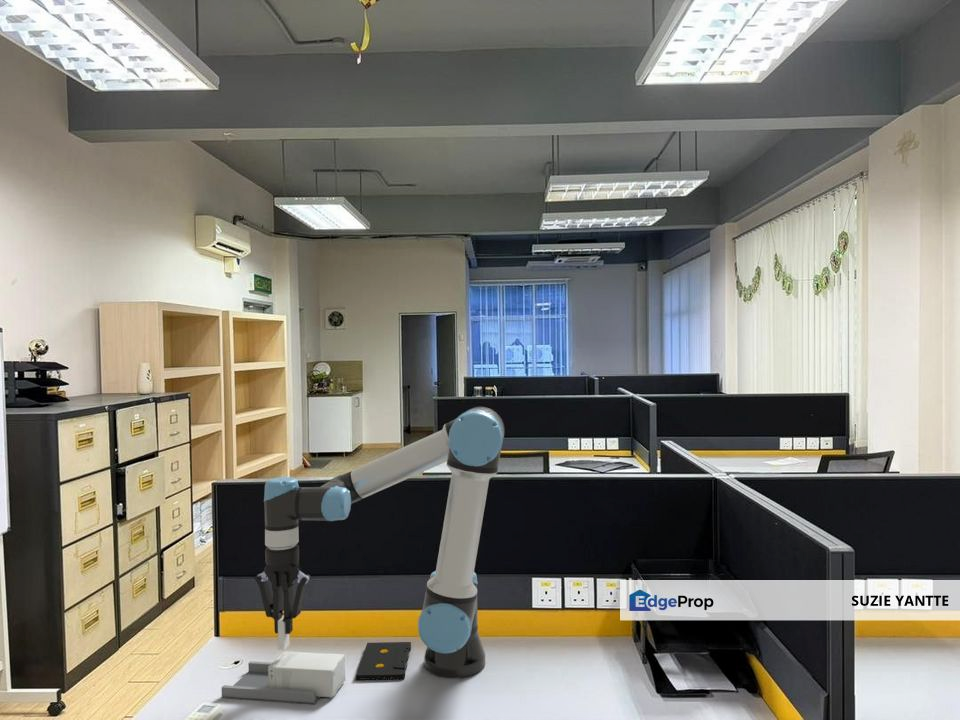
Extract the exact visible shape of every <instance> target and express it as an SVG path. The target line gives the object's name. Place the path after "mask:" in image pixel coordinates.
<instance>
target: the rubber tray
mask: <svg viewBox="0 0 960 720" xmlns="http://www.w3.org/2000/svg"><path fill="white" fill-rule="evenodd" d="M247 663H248V665H247V666H248V671H247V672H246V673H245V674H244V675H243V676H241V678H240V679H239V680H237V681H236V682H235V683H234V684H233V685H229V684H227V685H226V684H223V685H222V686H221V699H232V700H233V699H234V700H245V701H246V700H247V701H257V702H259V701H260V702H261V701H262V702H272V703H273V702H275V703H288V704H300V705H301V704H303V705H313V706H314V705H315V704H316V703H317V701H318V700H319V699H320V698H321V697H319V696H316V691H303V690H288V689H273V688H268V667H269V666H270V665H271V664H272V663H273V661H272V662H270V661H254V660H252V661H251V660H250V661H249V662H247Z"/></svg>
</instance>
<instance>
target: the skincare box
mask: <svg viewBox="0 0 960 720" xmlns="http://www.w3.org/2000/svg"><path fill="white" fill-rule="evenodd" d="M344 682H346V659H345V654H344V653H323V652H322V653H321V652H305V651H304V652H301V651H300V652H299V651H285V650H283V651H282V653H280V654H279V656H277V657H276V658H275V659H274V660H273V661H272V664H271V665H270V666H269V667H268V688H273V689H288V690H303V691H316V696H319V697H320V698H323V697H324V698H334V697H335V696H336V693H337V692H338V691H339V689H340V688H341V687H342V685H343V684H344Z"/></svg>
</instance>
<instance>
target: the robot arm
mask: <svg viewBox="0 0 960 720" xmlns="http://www.w3.org/2000/svg"><path fill="white" fill-rule="evenodd" d="M504 438H505V424H504V421H503V419H502V418H501V416H500V415H499V414H498V413H497V412H496V411H494V409H491V408H488V407H486V406H476V407H472V408H470V409H467V410H466V411H465V412H463V413H461V414H460V415H458V416H457V417H456V418H455V419H453V420H451V421H449V422H447V423H445V424H444V425H443V426H442V429H441V430H439V431H436V432H434V433H432V434H429V435H428V436H426V437H423V438H421V439H419V440H416V441H414V442H412V443H410V444H408V445H406V446H403V447H400V448H398V449H396V450H394V451H392V452H390V453H388V454H385V455H384V456H381V457H379V458H377V459H375V460H372V461H370V462H367V463H365V464H363V465H361V466H359V467H357V468H355V469H352V470H350V471H348V472H346V473H343V474H339V475H336V476H335V477H333V478H331V479H330V481H328V482H326V483H324V484H323V485H321V486H313V487H309V486H308V487H303V486H299V482H298V481H299V480H298V479H297V478H296V477H288V476H287V477H284V476H283V477H275V478H271V479H268V480H266V482H265V483H264V484H265V485H264V493H263V494H264V496H263V498H264V499H263V503H264V545H265V546H266V547H265V550H264V555H265V556H264V557H265V558H264V559H265V560H264V561H265V567H264V569H263V571H262V572H260V573H259V574H257V575H256V576H255V577H254V580H255V582H256V583H257V585H258V588H259V591H260V594H261V595H260V596H261V599H262V604H263V607H264V612H265V616H266V617H267V618H271V619H273V621H274V623H273V624H274V626H273V627H274V633H275V634H277V645H278V647H277V648H278V650H283V651H285V650H286V648H288V647H289V646H290V644H291V643H290V634H291V633H292V632H293V630H294V629H293V628H294V627H293V621H294V620H293V619H296V618H297V617H298V616H299V615H301V612H302V607H303V603H304V599H305V593H306V589H307V584H308V583H309V582H310V579H311V574H305V573H304V572H303V571H302V568H301V566H300V546H299V544H298V543H299V542H300V540H299V537H300V536H299V534H300V533H299V523H300V522H299V521H327V522H335V521H343V520H346V519H347V518H349V515H350V512H351V506H352V504H354V503H357V502H359V501H361V500H363V499H365V498H367V497H370V496H372V495H374V494H376V493H378V492H380V491H383V490H385V489H387V488H390V487H392V486H394V485H397V484H399V483H402V482H403V481H405V480H408V479H410V478H412V477H415V476H417V475H420V474H421V473H424V472H426V471H428V470H430V469H433V468H435V467H437V466H440V465H443V464H445V463H446V466H447V468H448V470H449V471H450V472H451V476H450V477H451V478H450V482H449V487H448V488H449V489H448V496H447V502H446V507H445V513H444V520H443V526H442V532H441V536H440V537H441V539H440V542H439V543H440V544H439V551H438V555H437V562H436V567H435V568H436V569H435V571H433V572H431V574H430V577H429V579H428V581H426V582H427V583H426V587H425V592H424V593H425V595H424V600H423V605H422V610H421V613H420V615H419V617H418V621H417V632H418V635H419V637H420V639H421V641H422V642H423V643H424V645H425V646H426V649H425V651H424V658H423V659H424V661H423V662H424V663H423V664H424V668H425V670H426V671H427V672H429V673H430V674H431V675H435V676H436V677H439V678H440V677H442V678H449V679H454V678H456V679H457V678H465V677H469V676H473V675H475V674H476V673H480V672H481V671H482V670H483V669H484V668H485V666H486V652H485V649H484V646H483V643H482V640H481V637H480V634H479V626H478V625H479V624H478V623H479V619H478V617H479V616H478V615H479V613H478V584H479V582H478V579H477V578H478V577H477V573H476V572H475V567H476V561H477V555H478V549H479V544H480V537H481V532H482V531H481V530H482V526H483V518H484V512H485V507H486V501H487V495H488V489H489V483H490V479H491V478H493V477H494V476H495V475H497V474H498V469H499V465H500V458H501V453H502V452H501V451H502V447H503V442H504ZM296 580H297V583H298V584H297V586H296V590H295V591H296V592H295V596H294V583H295V582H296ZM270 583H271V586H270Z"/></svg>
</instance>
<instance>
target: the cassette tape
mask: <svg viewBox="0 0 960 720" xmlns="http://www.w3.org/2000/svg"><path fill="white" fill-rule="evenodd" d="M411 650H412V642H411V641H390V642H388V641H387V642H383V641H382V642H379V641H377V642H367V643H366V645H365V648H364V650H363V653H362V656H361V658H360V662H359V665H358V667H357V670H356V672H355V682H369V681H370V682H373V681H374V682H375V681H404V680H405V679H406V670H407V667H408V660H409V659H410V658H409V657H410V651H411Z"/></svg>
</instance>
